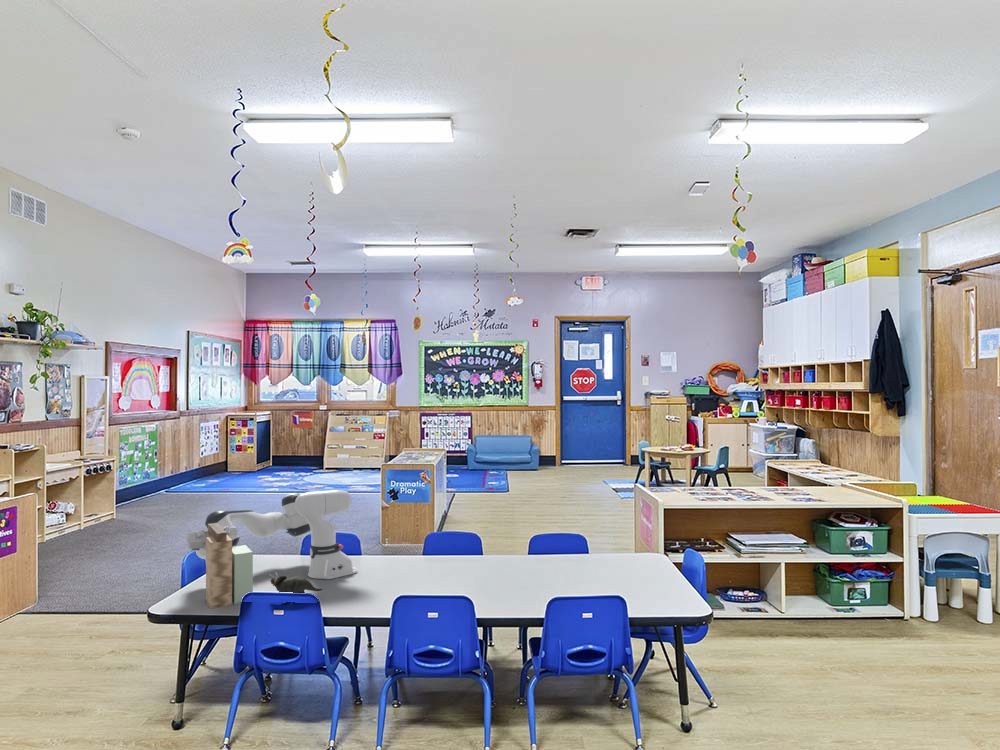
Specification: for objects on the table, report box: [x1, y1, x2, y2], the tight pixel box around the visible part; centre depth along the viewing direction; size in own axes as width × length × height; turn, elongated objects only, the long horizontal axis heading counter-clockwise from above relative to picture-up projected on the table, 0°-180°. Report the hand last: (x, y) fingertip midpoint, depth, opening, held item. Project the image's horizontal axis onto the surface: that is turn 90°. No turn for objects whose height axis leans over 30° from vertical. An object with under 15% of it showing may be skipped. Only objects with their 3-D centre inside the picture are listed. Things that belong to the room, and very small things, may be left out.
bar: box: [207, 523, 227, 542], centre depth 267 cm, size 4×22×4 cm, turn 33°
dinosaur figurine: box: [268, 571, 323, 594], centre depth 264 cm, size 22×8×11 cm, turn 90°
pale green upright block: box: [232, 544, 254, 605], centre depth 269 cm, size 7×14×20 cm, turn 33°
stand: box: [205, 535, 234, 610], centre depth 263 cm, size 8×11×26 cm
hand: (214, 529), depth 271 cm, fingers open, 8 cm apart
